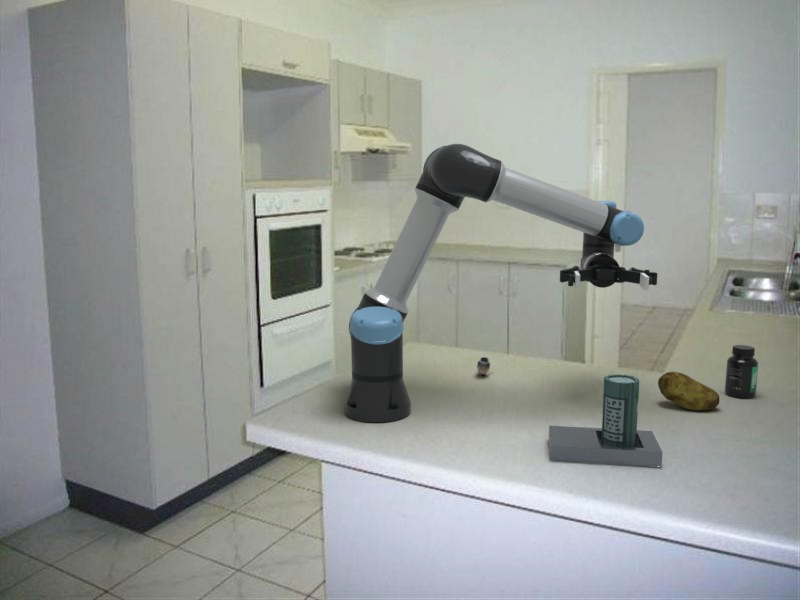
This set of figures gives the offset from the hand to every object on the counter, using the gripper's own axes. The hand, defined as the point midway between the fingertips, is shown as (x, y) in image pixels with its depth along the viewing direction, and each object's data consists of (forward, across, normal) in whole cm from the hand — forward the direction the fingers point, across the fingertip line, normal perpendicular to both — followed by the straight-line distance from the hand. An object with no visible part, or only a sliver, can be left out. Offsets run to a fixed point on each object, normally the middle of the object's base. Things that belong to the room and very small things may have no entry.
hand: (612, 282), depth 143 cm
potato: (-18, -20, -31) cm, 41 cm away
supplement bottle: (-30, -35, -31) cm, 55 cm away
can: (+14, -1, -32) cm, 34 cm away
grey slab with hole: (+14, +2, -31) cm, 34 cm away
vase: (-36, +28, -32) cm, 55 cm away
